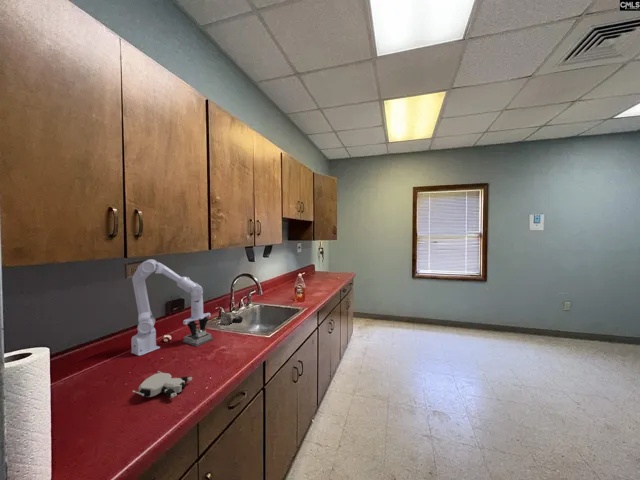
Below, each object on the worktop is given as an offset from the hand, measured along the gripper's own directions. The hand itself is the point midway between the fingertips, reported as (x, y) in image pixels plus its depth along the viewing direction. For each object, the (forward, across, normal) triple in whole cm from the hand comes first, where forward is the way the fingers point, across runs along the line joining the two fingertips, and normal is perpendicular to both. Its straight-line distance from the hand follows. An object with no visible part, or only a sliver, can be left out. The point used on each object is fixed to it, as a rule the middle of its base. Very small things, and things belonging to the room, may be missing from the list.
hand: (197, 333), depth 133 cm
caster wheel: (+4, +28, +5) cm, 29 cm away
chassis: (+4, 0, 0) cm, 4 cm away
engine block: (+3, 0, 0) cm, 3 cm away
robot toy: (+4, -34, -30) cm, 45 cm away
